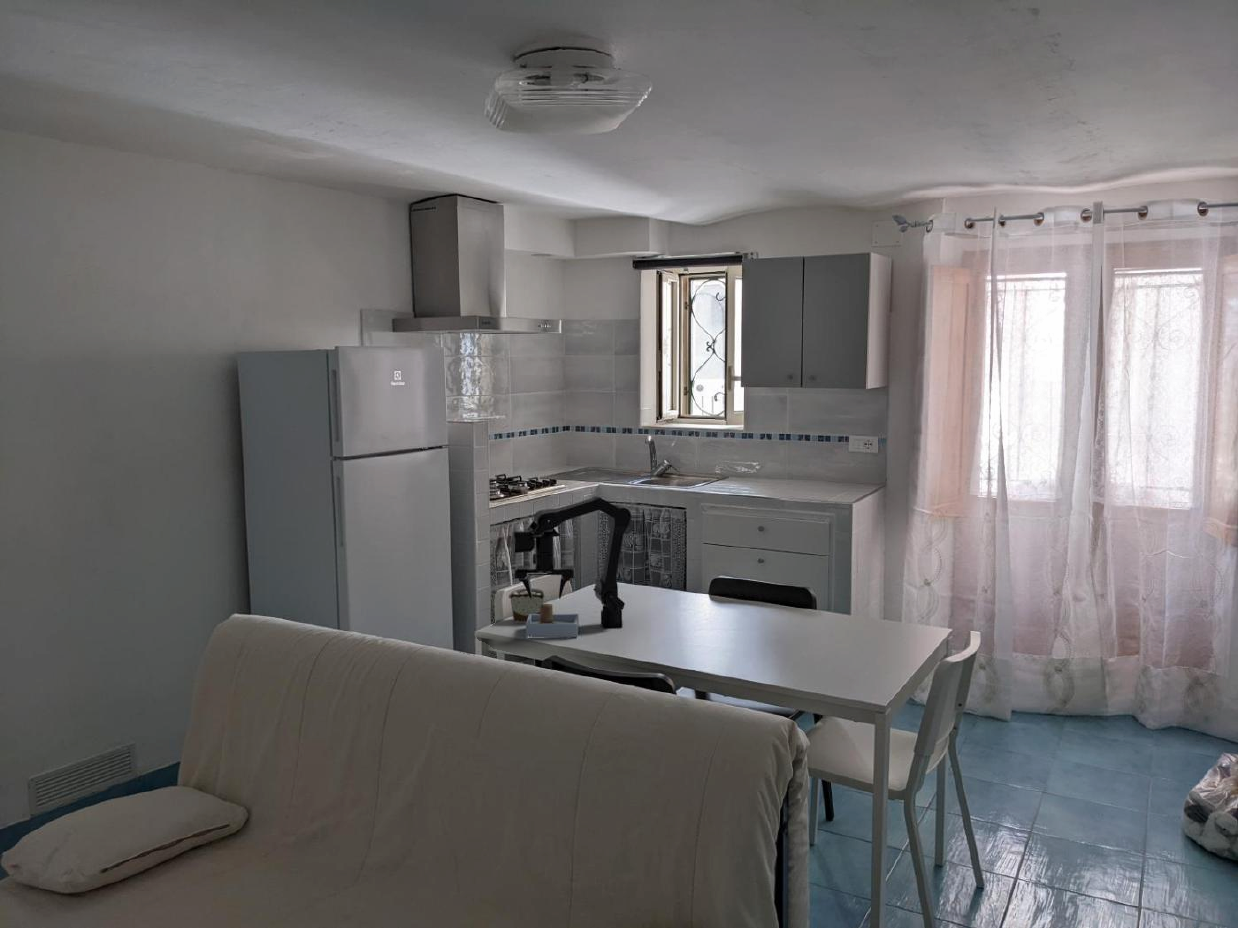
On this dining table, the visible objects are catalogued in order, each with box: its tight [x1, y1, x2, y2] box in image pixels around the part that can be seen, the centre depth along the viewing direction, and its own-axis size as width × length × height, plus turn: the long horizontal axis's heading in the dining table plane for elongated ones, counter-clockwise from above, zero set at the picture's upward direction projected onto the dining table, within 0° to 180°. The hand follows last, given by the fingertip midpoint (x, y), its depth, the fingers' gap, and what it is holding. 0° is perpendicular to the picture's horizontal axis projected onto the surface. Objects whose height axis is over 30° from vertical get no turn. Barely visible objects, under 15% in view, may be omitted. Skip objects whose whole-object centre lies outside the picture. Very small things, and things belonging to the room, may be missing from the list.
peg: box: [540, 603, 554, 624], centre depth 304 cm, size 4×4×9 cm
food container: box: [508, 588, 546, 623], centre depth 318 cm, size 12×6×10 cm, turn 84°
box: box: [525, 613, 580, 638], centre depth 304 cm, size 16×11×4 cm
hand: (545, 598), depth 303 cm, fingers open, 9 cm apart
